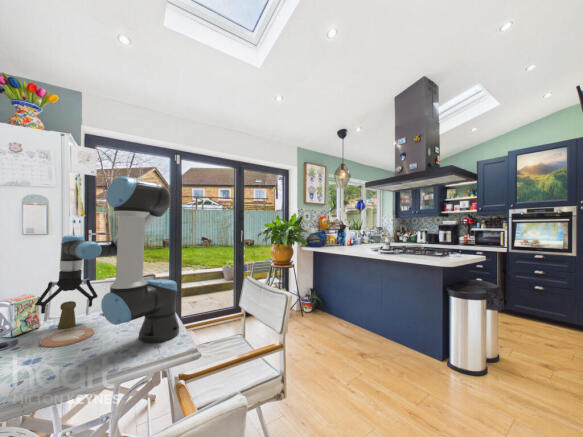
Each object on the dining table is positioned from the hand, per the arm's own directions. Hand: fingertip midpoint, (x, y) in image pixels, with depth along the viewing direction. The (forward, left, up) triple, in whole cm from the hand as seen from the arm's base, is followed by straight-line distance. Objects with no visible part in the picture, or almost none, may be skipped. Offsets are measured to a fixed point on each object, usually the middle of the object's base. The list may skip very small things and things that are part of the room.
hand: (67, 317), depth 107 cm
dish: (-14, -1, -4) cm, 15 cm away
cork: (0, 0, -4) cm, 4 cm away
